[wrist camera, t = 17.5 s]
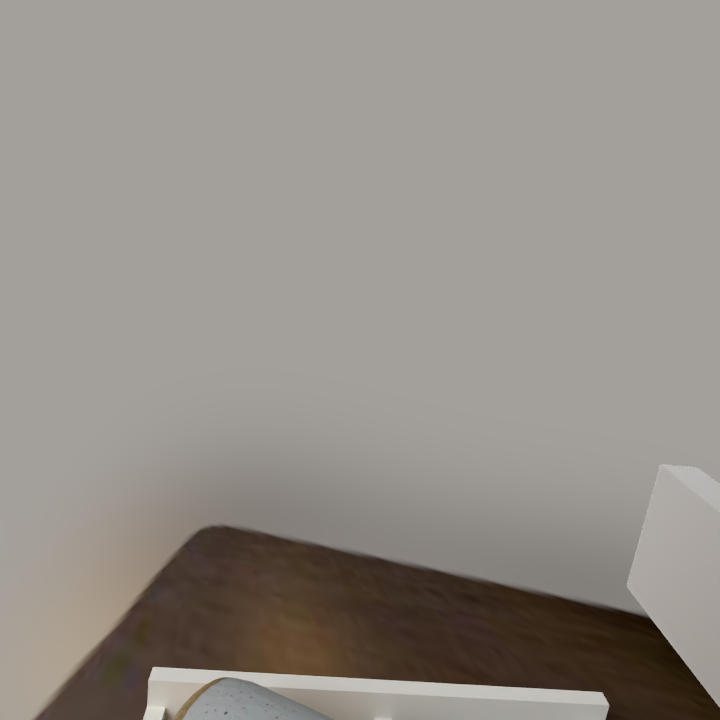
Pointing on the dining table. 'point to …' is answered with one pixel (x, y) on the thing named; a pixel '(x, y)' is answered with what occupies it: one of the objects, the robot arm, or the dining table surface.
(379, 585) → the dining table surface
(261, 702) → the ceramic mug
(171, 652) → the dining table surface
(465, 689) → the bay rack
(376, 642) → the dining table surface
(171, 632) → the dining table surface
